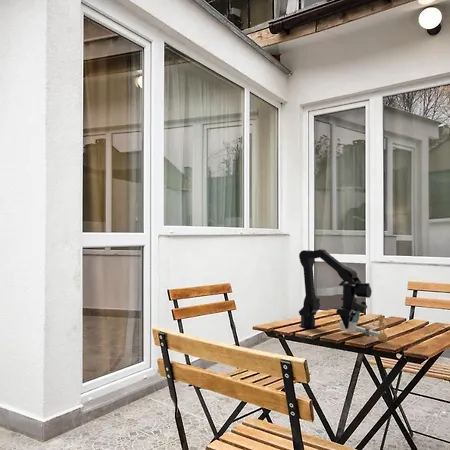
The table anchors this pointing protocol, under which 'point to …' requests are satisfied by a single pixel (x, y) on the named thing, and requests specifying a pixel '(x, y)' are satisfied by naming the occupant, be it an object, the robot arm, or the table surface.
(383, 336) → the figurine
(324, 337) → the table surface
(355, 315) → the flower pot
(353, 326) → the cream rectangular block
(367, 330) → the rail
